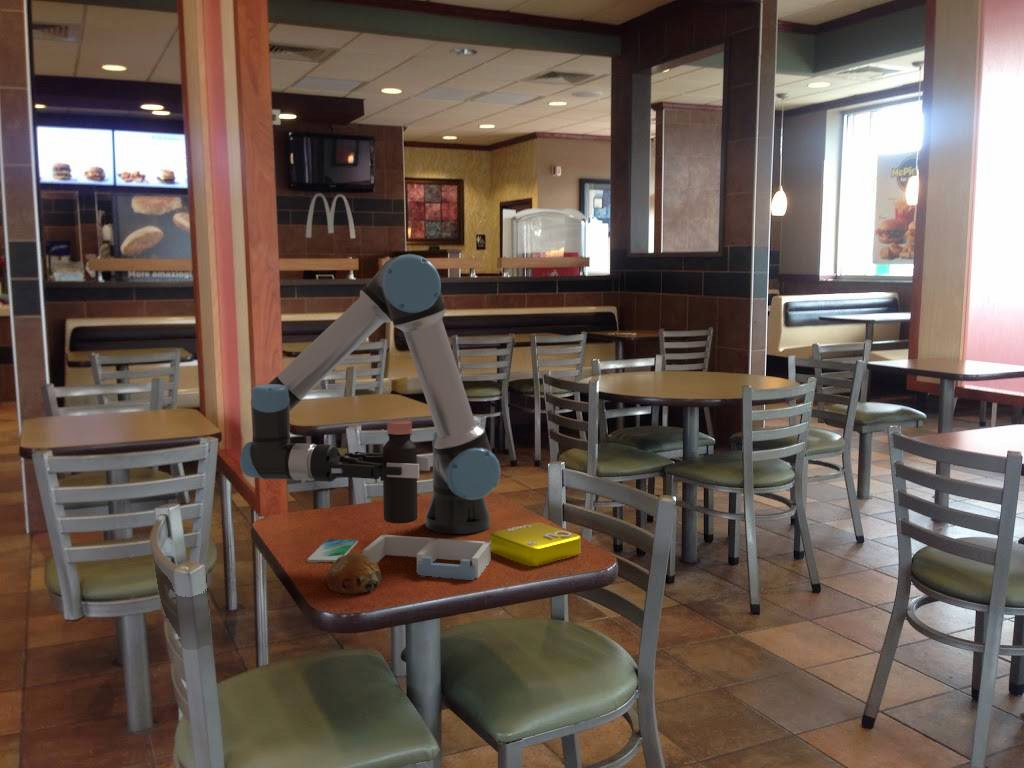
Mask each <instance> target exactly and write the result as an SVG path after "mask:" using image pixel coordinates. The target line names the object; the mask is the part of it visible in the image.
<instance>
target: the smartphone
mask: <svg viewBox="0 0 1024 768" xmlns="http://www.w3.org/2000/svg"><path fill="white" fill-rule="evenodd" d="M357 544H358V540H357V539H345V538H344V539H343V538H342V539H339V538H337V539H336V538H335V539H334V538H332V539H331V538H329V539H326V540H325V541H323V542H322V544H320V545H319V547H317V549H315V550H314V551H313V552H312V553H311V554H310V555H309V556H308V557H307V559H306V560H305V562H306V561H307V562H306V563H317V562H320V563H324V562H333V563H334V562H335V561H336V560H337V559H338V558H339V557H342V556H345V555H349V554H350V552H351V551H352V550H353V549H354V547H355V546H356V545H357ZM351 549H352V550H351ZM333 563H332V564H333Z"/></svg>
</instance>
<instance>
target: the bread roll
mask: <svg viewBox="0 0 1024 768" xmlns="http://www.w3.org/2000/svg"><path fill="white" fill-rule="evenodd" d="M380 569H381V568H380V567H379V564H378V562H377V563H376V561H375V560H374V559H372V558H371V557H370V556H367V555H364V554H363V553H360V552H352V553H348V554H347V555H345V556H342V557H339V558H338V559H337V560H336V561H335V562H334V563H331V565H330V567H329V569H328V570H327V574H326V577H327V579H326V580H327V581H326V582H327V586H328V588H329V590H332V591H334V592H336V591H337V592H336V593H338V592H339V593H338V594H342V593H345V594H344V595H360V594H359V593H361V594H365V593H364V592H366V593H369V592H368V591H370V592H373V591H374V590H376V589H377V588H378V587H379V585H380V583H381V580H382V573H381V570H380ZM377 586H378V587H377ZM372 590H373V591H372Z"/></svg>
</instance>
